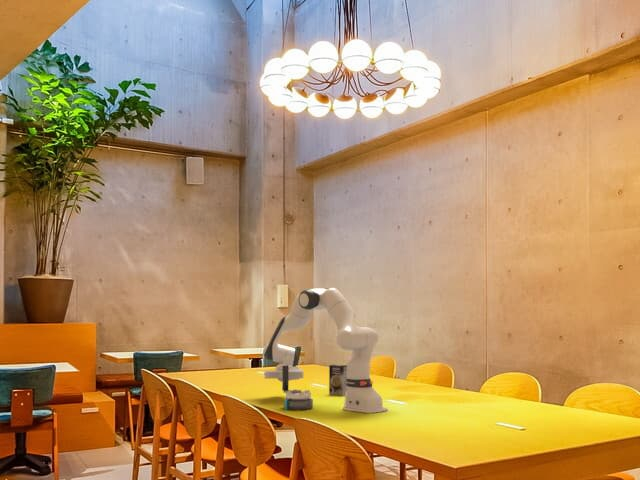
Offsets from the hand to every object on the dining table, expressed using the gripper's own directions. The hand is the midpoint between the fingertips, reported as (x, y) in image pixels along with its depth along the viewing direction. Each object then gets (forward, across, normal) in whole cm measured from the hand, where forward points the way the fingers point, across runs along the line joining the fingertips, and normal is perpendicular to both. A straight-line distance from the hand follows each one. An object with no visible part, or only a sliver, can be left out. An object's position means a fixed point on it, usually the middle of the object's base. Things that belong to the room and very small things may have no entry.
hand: (284, 376), depth 337 cm
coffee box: (-31, +31, +14) cm, 46 cm away
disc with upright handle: (+14, +5, +10) cm, 18 cm away
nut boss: (+14, +6, +14) cm, 21 cm away
